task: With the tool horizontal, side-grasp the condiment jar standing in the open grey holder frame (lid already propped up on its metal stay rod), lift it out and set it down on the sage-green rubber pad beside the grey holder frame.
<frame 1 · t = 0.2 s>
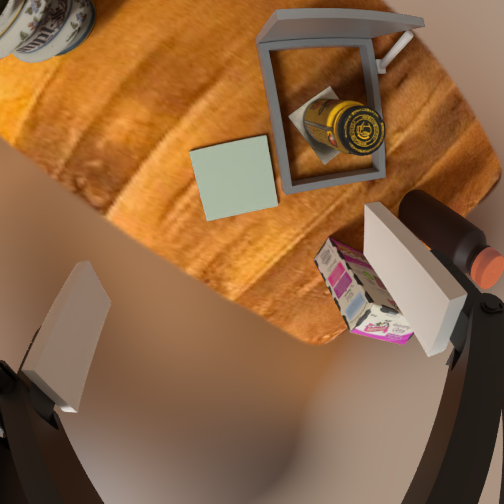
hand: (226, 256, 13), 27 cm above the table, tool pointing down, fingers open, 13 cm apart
condiment: (326, 125, 37), resting in grey holder frame
bottle: (413, 207, 45), on the table
apothecary jar: (65, 24, 25), on the table
grey holder frame: (325, 111, 36), on the table
pad: (235, 178, 39), on the table
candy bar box: (345, 259, 48), on the table
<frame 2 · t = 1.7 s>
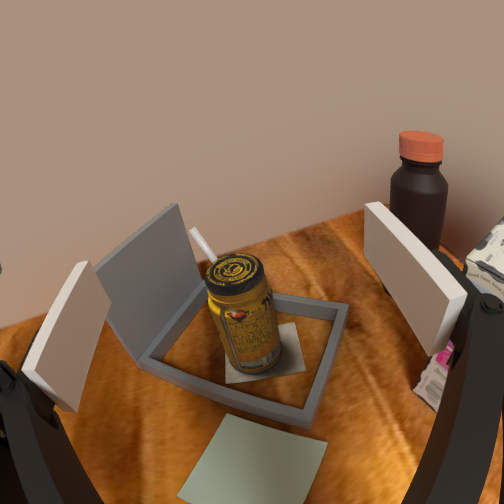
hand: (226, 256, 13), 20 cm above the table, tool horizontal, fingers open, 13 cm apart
condiment: (263, 354, 32), resting in grey holder frame
bottle: (406, 287, 36), on the table
grey holder frame: (246, 348, 33), on the table
pad: (253, 476, 20), on the table
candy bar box: (457, 373, 24), on the table
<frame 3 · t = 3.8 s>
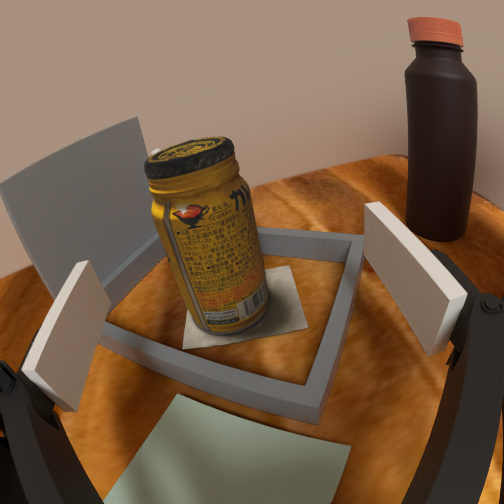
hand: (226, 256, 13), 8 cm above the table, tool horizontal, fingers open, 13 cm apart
condiment: (242, 307, 22), resting in grey holder frame
bottle: (435, 226, 26), on the table
grey holder frame: (218, 300, 23), on the table
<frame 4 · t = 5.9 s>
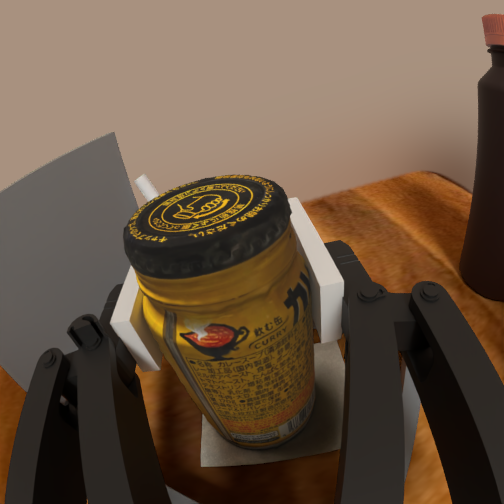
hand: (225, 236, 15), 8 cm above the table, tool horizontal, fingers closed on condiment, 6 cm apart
condiment: (277, 404, 15), resting in grey holder frame, touching gripper
bottle: (491, 277, 19), on the table
grey holder frame: (231, 398, 16), on the table
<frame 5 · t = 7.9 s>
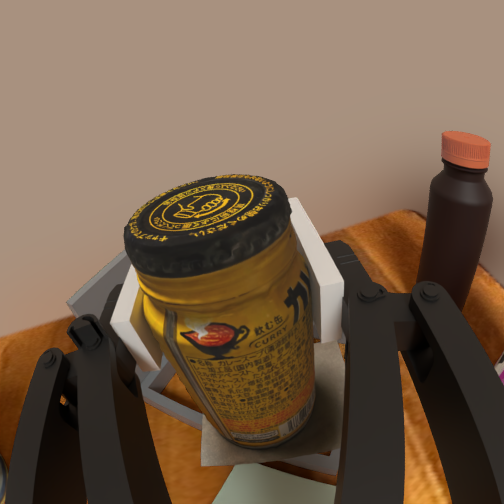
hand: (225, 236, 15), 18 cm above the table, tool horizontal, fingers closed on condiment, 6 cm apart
condiment: (277, 403, 15), point 10 cm above the table, touching gripper
bottle: (436, 306, 31), on the table
grey holder frame: (261, 378, 28), on the table
when the fingers open (10 cm above the table, at t = 10.1 s): condiment drops 1 cm, resting on pad.
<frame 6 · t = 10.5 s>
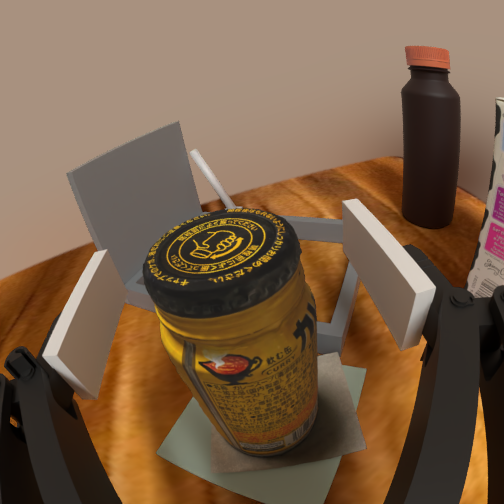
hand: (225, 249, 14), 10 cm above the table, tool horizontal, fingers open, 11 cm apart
condiment: (282, 414, 16), resting on pad
bottle: (426, 217, 32), on the table
grey holder frame: (253, 272, 29), on the table
pad: (266, 422, 16), on the table
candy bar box: (500, 293, 20), on the table
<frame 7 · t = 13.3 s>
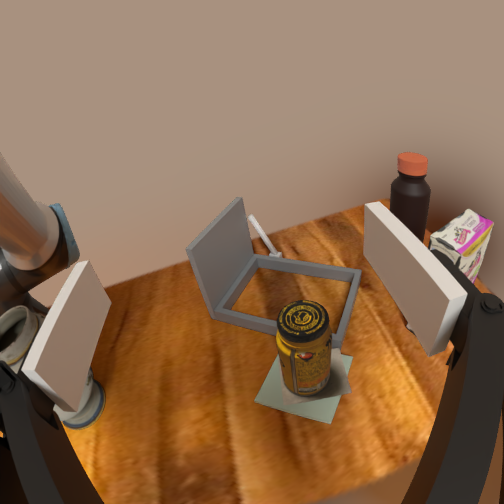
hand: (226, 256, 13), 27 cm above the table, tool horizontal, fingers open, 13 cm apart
condiment: (313, 377, 36), resting on pad
bottle: (401, 261, 51), on the table
apothecary jar: (81, 404, 36), on the table
grey holder frame: (292, 300, 48), on the table
pad: (305, 381, 36), on the table
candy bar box: (437, 318, 39), on the table
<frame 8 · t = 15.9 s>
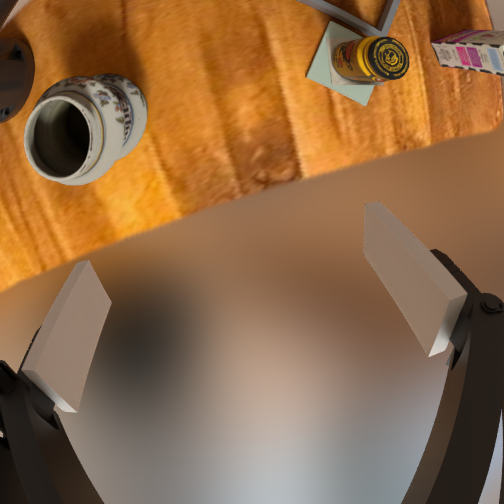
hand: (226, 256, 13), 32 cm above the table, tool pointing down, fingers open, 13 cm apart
condiment: (355, 61, 35), resting on pad
apothecary jar: (116, 113, 37), on the table
pad: (348, 63, 35), on the table
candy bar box: (453, 47, 33), on the table
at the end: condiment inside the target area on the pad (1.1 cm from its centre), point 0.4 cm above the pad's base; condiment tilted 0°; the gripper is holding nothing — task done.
